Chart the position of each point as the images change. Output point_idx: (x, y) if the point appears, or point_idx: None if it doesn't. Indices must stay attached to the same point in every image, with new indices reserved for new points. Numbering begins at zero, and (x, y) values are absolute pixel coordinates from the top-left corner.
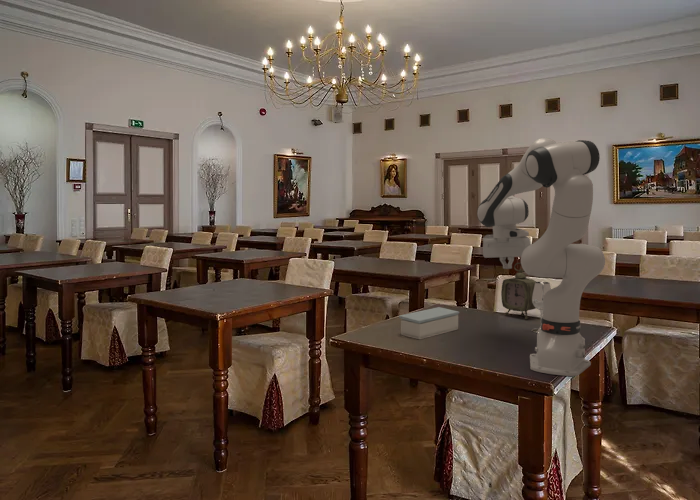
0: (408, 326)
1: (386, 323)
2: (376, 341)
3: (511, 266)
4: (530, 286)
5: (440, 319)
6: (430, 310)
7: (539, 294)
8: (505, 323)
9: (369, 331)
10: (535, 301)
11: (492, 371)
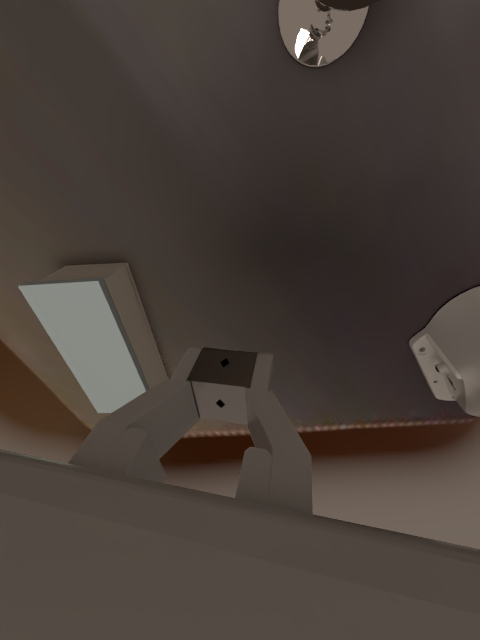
0: None
1: (14, 340)
2: None
3: (271, 370)
4: None
5: (135, 350)
6: (62, 336)
7: None
8: (120, 11)
9: (76, 394)
10: (342, 5)
11: (377, 425)
